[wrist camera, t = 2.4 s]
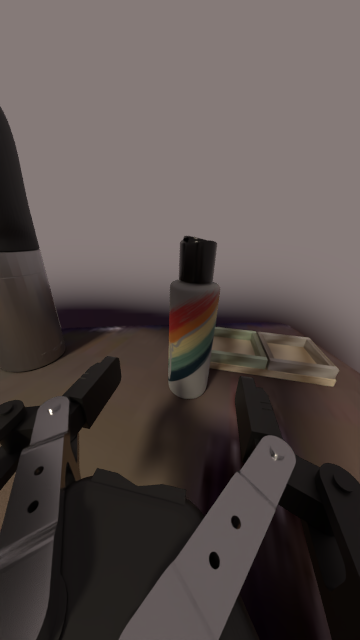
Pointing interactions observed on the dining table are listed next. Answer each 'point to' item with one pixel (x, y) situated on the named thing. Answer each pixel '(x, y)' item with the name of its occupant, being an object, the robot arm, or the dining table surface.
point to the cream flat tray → (271, 356)
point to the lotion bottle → (192, 318)
